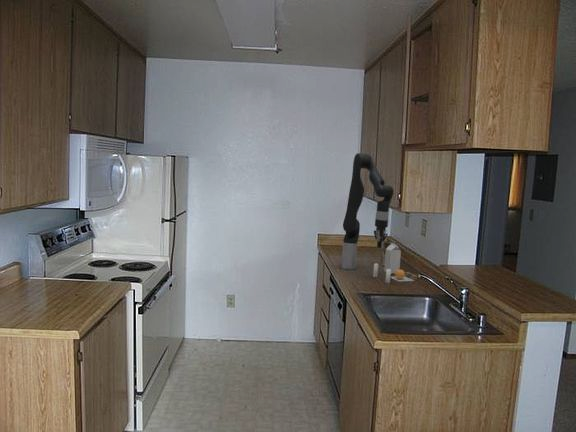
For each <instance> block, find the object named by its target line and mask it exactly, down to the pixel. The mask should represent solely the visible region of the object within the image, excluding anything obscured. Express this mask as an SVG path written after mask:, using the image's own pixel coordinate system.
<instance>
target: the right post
mask: <svg viewBox="0 0 576 432" xmlns="http://www.w3.org/2000/svg"><path fill="white" fill-rule="evenodd" d="M391 275H392V274H391V269H387V270H386V272H385V283H386V284H390V283H391V278H390V277H392V276H391Z"/></svg>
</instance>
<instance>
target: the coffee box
mask: <svg viewBox="0 0 576 432" xmlns="http://www.w3.org/2000/svg"><path fill="white" fill-rule="evenodd" d="M391 243H394V244H396V245H397V246H398V243H395V242H392V241H383V242H382V246H381V256H380V257H381V258H380V265H381V266H384V267H385V254H386V248H387V247H388V246H390V245H391Z"/></svg>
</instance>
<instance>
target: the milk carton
mask: <svg viewBox="0 0 576 432" xmlns="http://www.w3.org/2000/svg"><path fill="white" fill-rule="evenodd" d="M394 243H395V242H392V243H391V245H390V246H388V247H387V248H386V254H385V266H384V269H383V271H384V272H385V273H386V270H387V269H391V275H392V274H393V275H395V272H396V271H397V270H400V268H401V254H402V253H401V252H402V250H401V249H400V248H399V246H398V244H397V243H395V244H394ZM396 244H397V245H396Z"/></svg>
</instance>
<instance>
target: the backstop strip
mask: <svg viewBox="0 0 576 432" xmlns="http://www.w3.org/2000/svg"><path fill="white" fill-rule="evenodd" d="M404 272H405V277H407V278H410V279H412V280H414V281H413V282H416V281H418V275H416V274H413V273H411V272H410V271H404Z"/></svg>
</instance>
